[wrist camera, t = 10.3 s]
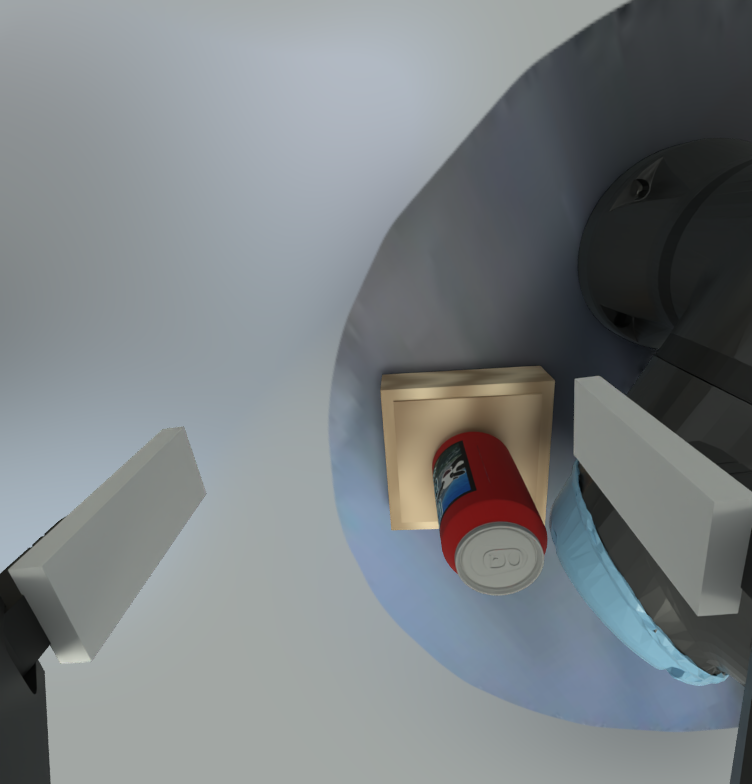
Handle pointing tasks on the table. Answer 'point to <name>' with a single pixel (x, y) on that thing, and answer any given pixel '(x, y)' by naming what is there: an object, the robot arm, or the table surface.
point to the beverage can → (486, 515)
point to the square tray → (462, 430)
